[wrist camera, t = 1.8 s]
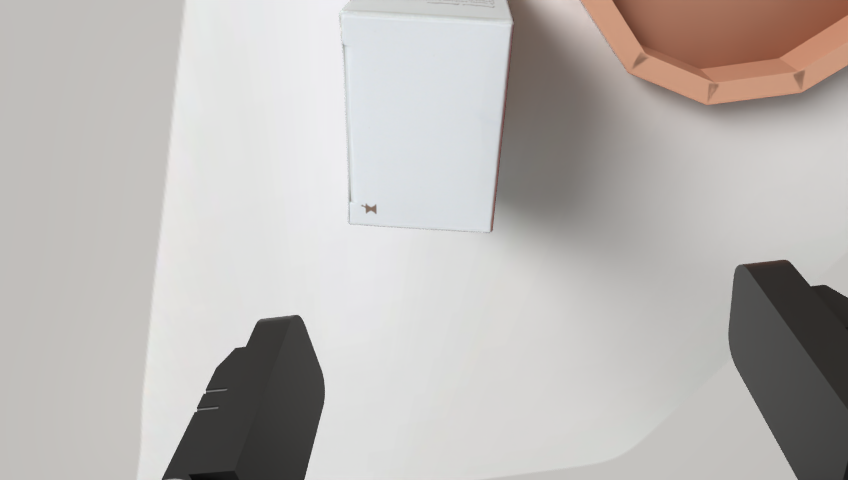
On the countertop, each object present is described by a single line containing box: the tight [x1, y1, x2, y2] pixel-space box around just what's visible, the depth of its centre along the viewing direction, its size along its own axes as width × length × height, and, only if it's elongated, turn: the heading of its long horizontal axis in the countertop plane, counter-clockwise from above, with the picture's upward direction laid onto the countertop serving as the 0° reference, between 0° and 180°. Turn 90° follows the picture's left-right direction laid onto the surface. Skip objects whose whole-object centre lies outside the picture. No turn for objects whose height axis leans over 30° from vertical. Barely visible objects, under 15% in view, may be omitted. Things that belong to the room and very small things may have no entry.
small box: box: [339, 0, 514, 233], centre depth 25 cm, size 8×6×10 cm
